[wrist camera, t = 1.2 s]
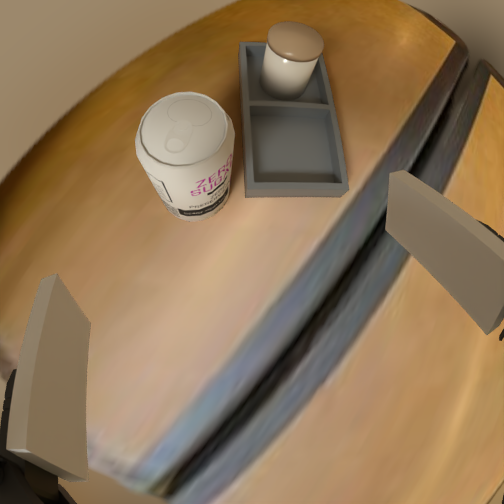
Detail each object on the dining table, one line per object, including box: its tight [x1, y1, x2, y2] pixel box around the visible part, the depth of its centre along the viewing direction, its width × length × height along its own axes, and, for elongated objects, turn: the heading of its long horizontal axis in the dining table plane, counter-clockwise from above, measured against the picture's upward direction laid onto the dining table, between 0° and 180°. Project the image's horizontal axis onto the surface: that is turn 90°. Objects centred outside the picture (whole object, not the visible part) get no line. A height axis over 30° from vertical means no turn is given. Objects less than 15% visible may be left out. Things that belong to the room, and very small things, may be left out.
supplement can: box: [135, 92, 235, 222], centre depth 30 cm, size 8×8×15 cm
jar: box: [260, 22, 324, 100], centre depth 35 cm, size 7×7×9 cm
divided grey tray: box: [238, 42, 349, 198], centre depth 38 cm, size 12×23×3 cm, turn 3°
